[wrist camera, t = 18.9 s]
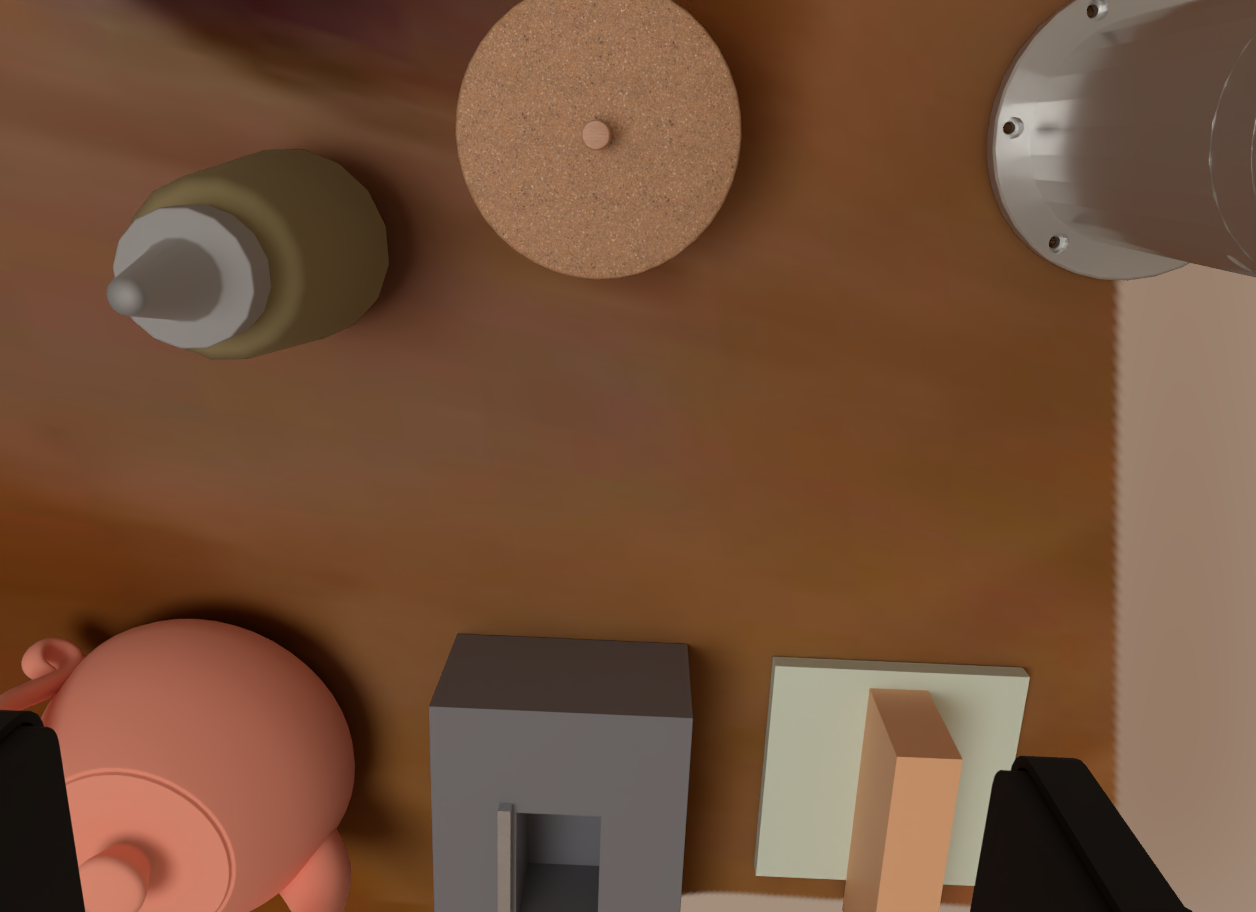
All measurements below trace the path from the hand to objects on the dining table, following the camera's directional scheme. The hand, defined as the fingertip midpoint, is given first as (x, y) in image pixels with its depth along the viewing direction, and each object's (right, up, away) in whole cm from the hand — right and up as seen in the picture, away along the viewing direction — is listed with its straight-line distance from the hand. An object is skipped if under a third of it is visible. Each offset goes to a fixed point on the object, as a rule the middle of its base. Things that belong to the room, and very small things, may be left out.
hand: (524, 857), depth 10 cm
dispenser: (-2, -14, +45) cm, 47 cm away
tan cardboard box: (+15, -9, +38) cm, 42 cm away
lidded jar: (0, +18, +35) cm, 39 cm away
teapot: (-20, -11, +44) cm, 50 cm away
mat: (+15, -13, +44) cm, 48 cm away
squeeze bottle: (-13, +14, +36) cm, 41 cm away
